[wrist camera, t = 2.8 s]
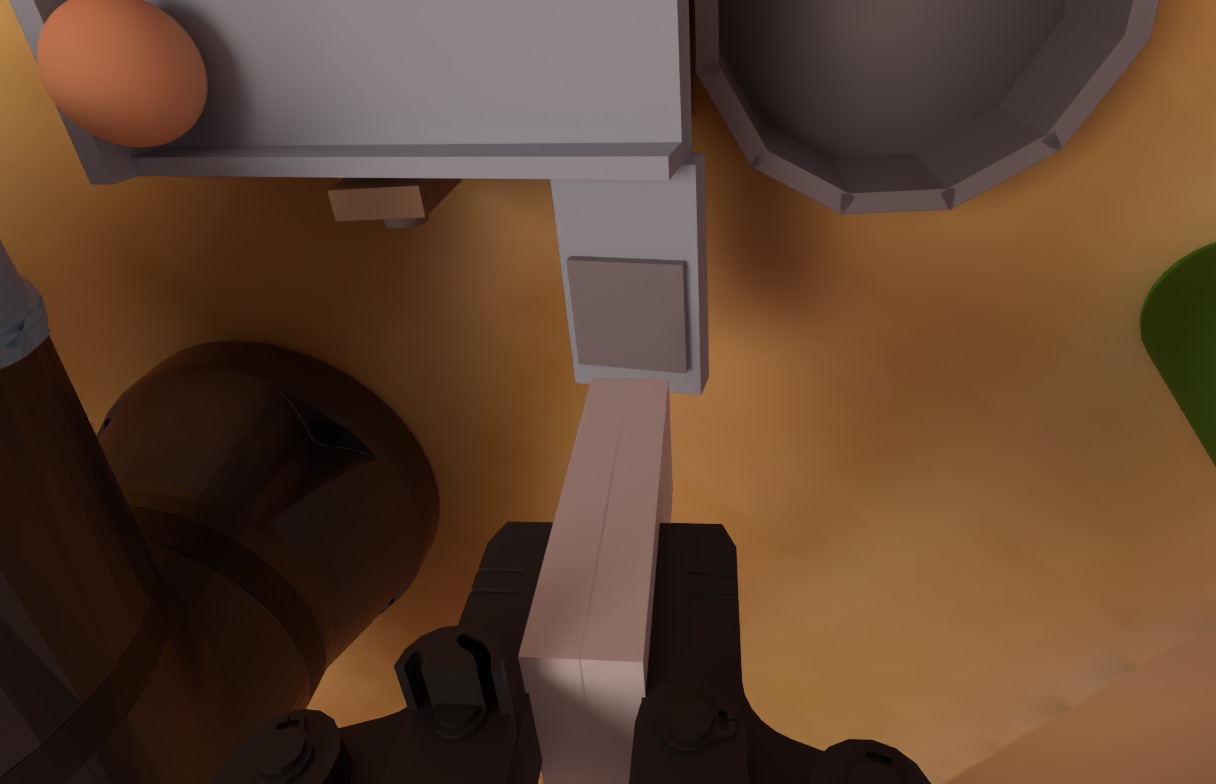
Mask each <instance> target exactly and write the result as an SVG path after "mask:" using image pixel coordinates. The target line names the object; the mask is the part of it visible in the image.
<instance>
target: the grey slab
mask: <svg viewBox="0 0 1216 784" xmlns="http://www.w3.org/2000/svg"><path fill="white" fill-rule="evenodd" d="M9 1H10V3H11V5H12V7H13V10H14V12H15V14H16V16H17V19H18V21H19V23H20V25H21V28H22V30H23V32H24V34H25V37H26V39H27V41H28V44H29V46H30V48H31V50H32V53H33V55H34V57H35V59H36V62H37V64H38V55H37V48H38V41H39V37H40V33H41V30H42V28H43V26H44V24H45V22H46V21H47V19H48V18H49V16H50V15H51V14H52V13H53V12H54V11H55V10H56V9H57V8H58V7H59V6H60V5H62V4H63V3H65V2H66V1H68V0H9ZM144 1H147V2H149V3H151V4H153V5H155V6H156V7H158V8H160V9H161V10H163V11H164V12H166V13H167V14H168V15H170V16H171V17H172V18H173V19H174V20H175V21H177V22H178V23H179V24H180V25H181V27H182V28H183V29H184V30H185V31H186V32H187V33H188V35H189V36H190V37H191V39H192V40H193V42H194V43H195V45H196V46H197V48H198V50H199V52H200V54H201V57H202V59H203V62H204V65H205V69H206V74H207V85H208V90H207V98H206V103H205V106H204V109H203V111H202V114H201V115H200V117H199V119H198V120H197V122H196V123H195V124H194V125H193V127H192V128H191V129H190V130H188V131H187V132H186V133H185V134H183V135H182V136H181V137H179V138H177V139H175V140H173V141H171V142H169V143H166V144H163V145H159V146H153V147H128V146H122V145H117V144H114V143H111V142H107V141H104V140H102V139H100V138H97V137H96V136H94V135H92V134H90V133H88V132H86V131H85V130H83V129H82V128H80V127H79V126H78V125H76V124H75V123H74V122H73V121H71V120H70V119H69V118H68V117H67V116H66V115H65V114H64V113H63V112H62V111H61V110H60V109H59V107H58V106H57V105H56V107H57V109H58V111H59V113H60V116H61V118H62V120H63V122H64V125H65V127H66V129H67V131H68V134H69V136H70V138H71V140H72V143H73V145H74V147H75V150H76V152H77V154H78V156H79V159H80V161H81V163H82V165H83V168H84V170H85V172H86V174H87V177H88V179H89V181H90V183H91V184H115V183H118V182H121V181H124V180H127V179H130V178H132V177H135V176H208V177H338V178H467V179H550V182H551V190H552V198H553V206H554V214H555V222H556V230H557V238H558V246H559V254H560V262H561V270H562V278H563V286H564V294H565V302H566V310H567V318H568V326H569V334H570V342H571V350H572V358H573V366H574V374H575V382H576V383H584V384H590V381H591V378H669V392H675V393H685V394H695V395H701V394H702V391H703V389H704V387H705V384H706V382H707V380H708V377H709V357H708V300H707V242H706V184H705V153H692V115H691V76H690V37H689V0H144Z"/></svg>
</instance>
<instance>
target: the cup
mask: <svg viewBox="0 0 1216 784" xmlns="http://www.w3.org/2000/svg"><path fill="white" fill-rule="evenodd" d="M1141 337H1142V341H1143V343H1144V346H1145V348H1146V350H1147V352H1148V354H1149V356H1150V358H1151V359H1152V361H1153V363H1154V364H1155V366H1156V368H1157V369H1158V371H1159V373H1160V374H1161V376H1162V378H1163V379H1164V381H1165V383H1166V384H1167V386H1168V388H1169V389H1170V391H1171V393H1172V394H1173V396H1174V398H1175V399H1176V401H1177V403H1178V404H1179V406H1180V408H1181V409H1182V411H1183V413H1184V414H1185V416H1186V418H1187V419H1188V421H1189V423H1190V425H1191V426H1192V428H1193V430H1194V431H1195V433H1196V435H1197V436H1198V438H1199V440H1200V441H1201V443H1202V445H1203V446H1204V448H1205V450H1206V451H1207V453H1208V455H1209V456H1210V458H1211V460H1212V461H1213V463H1214V465H1215V466H1216V243H1214V244H1211V245H1208V246H1206V247H1203V248H1200V249H1198V250H1196V251H1194V252H1193V253H1191V254H1189V255H1187V256H1186V257H1184V258H1182V259H1180V260H1179V261H1178V262H1177V263H1175V264H1174V265H1173V266H1172V267H1171V268H1169V269H1168V270H1167V271H1166V272H1165V273H1164V274H1163V275H1162V276H1161V277H1160V279H1159V280H1158V281H1157V282H1156V283H1155V285H1154V286H1153V287H1152V289H1151V291H1150V293H1149V294H1148V296H1147V298H1146V300H1145V302H1144V306H1143V310H1142V315H1141Z"/></svg>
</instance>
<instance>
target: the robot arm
mask: <svg viewBox="0 0 1216 784" xmlns="http://www.w3.org/2000/svg"><path fill="white" fill-rule="evenodd" d="M49 333H50V330H49V328H48V317H47V313H46V309H45V306H44V302H43V298H42V296H41V294H40V293H39V292H38V290H37V289H36V288H35V286H34V285H33V284H32V283H31V282H30V281H29V280H27V279H26V278H24V277H23V276H22V275H20V274H19V273H18V272H17V270H16V268H15V266H14V265H13V263H12V261H11V259H10V257H9V255H8V253H7V252H6V250H5V248H4V246H3V244H2V242H1V240H0V784H538V781H539V776H540V771H541V772H542V777H543V782H544V784H931V783H930V782H929V780H928V779H927V778H926V776H925V775H924V773H923V772H922V771H921V769H920V768H919V767H918V765H917V764H916V763H915V762H913V761H912V760H911V759H909V758H908V757H906V756H905V755H904V754H902V753H901V752H900V751H898V750H897V749H896V748H893V747H890V746H888V745H885V744H882V743H879V742H877V741H874V740H860V739H848V740H845V741H843V742H840V743H837V744H835V745H832V746H829V747H828V748H827V749H826V750H825V751H822V750H819V749H816V748H814V747H811V746H808V745H806V744H803V743H800V742H798V741H795V740H792V739H790V738H788V737H786V736H784V735H782V734H780V733H778V732H776V731H774V730H773V729H772V728H771V727H769V726H768V725H767V724H766V723H764V722H763V721H762V720H761V719H760V718H759V717H758V715H757V714H756V713H755V712H754V711H753V709H752V708H751V706H750V704H749V702H748V700H747V698H746V696H745V694H744V688H743V683H742V669H741V646H740V623H739V600H738V579H737V554H736V546H735V544H734V543H733V541H732V540H731V538H730V536H729V535H728V533H727V531H726V530H725V528H724V527H723V525H722V524H692V523H670V522H671V507H672V492H673V487H672V459H671V432H670V405H669V378H591V381H590V385H589V388H588V392H587V396H586V400H585V404H584V407H583V411H582V415H581V419H580V423H579V426H578V430H577V434H576V438H575V442H574V446H573V449H572V453H571V457H570V461H569V465H568V468H567V472H566V476H565V480H564V484H563V487H562V491H561V495H560V499H559V503H558V507H557V510H556V514H555V518H554V522H553V523H552V522H507V523H506V524H505V525H504V526H503V527H502V528H501V529H500V530H499V531H498V532H497V534H496V535H495V536H494V537H493V538H492V539H491V540H490V541H489V542H488V544H487V546H486V549H485V552H484V555H483V558H482V560H481V563H480V566H479V573H477V574H476V577H475V580H474V583H473V585H472V592H471V593H470V594H469V596H468V599H467V602H466V605H465V608H464V610H463V613H462V616H461V619H460V621H459V624H458V626H449V627H442V628H439V629H437V630H434V631H432V632H430V633H427V634H425V635H423V636H421V637H420V638H419V639H417V640H416V641H415V642H414V643H412V644H411V645H410V646H409V647H407V648H406V649H405V650H404V652H403V653H402V655H401V656H400V658H399V659H398V661H397V662H396V664H395V665H394V668H395V671H396V674H397V677H398V680H399V683H400V686H401V689H402V692H403V695H404V698H405V701H406V704H407V707H406V708H405V709H403V710H401V711H399V712H397V713H394V714H391V715H388V716H385V717H382V718H378V719H374V720H370V721H366V722H362V723H358V724H354V725H350V726H346V727H342V728H338V727H337V725H336V723H335V721H334V719H332V718H331V717H329V716H328V715H326V714H325V713H323V712H321V711H318V710H308V709H306V708H307V706H308V704H309V702H310V700H311V698H312V696H313V694H314V692H315V691H316V689H317V687H318V685H319V683H320V680H321V678H322V676H323V675H324V673H325V671H326V669H327V668H328V667H329V666H330V665H331V664H332V663H333V662H334V660H335V659H336V658H337V657H338V656H339V655H340V654H341V653H342V652H343V651H344V650H345V649H346V648H347V647H348V646H349V645H350V644H351V643H352V642H353V641H354V640H355V639H356V638H357V637H358V636H359V635H360V634H361V633H362V632H363V631H364V630H365V629H366V628H367V627H368V626H369V625H370V624H371V622H372V621H373V620H374V619H375V618H376V617H377V616H378V615H379V614H380V613H382V612H384V611H385V610H386V609H388V608H389V607H390V606H391V605H392V604H393V603H394V602H396V601H397V600H398V599H399V598H400V597H401V596H402V595H403V594H404V593H405V592H406V590H407V589H408V588H409V586H410V585H411V583H412V582H413V581H414V579H415V578H416V576H417V574H418V572H419V570H420V568H421V566H422V564H423V562H424V559H425V557H426V555H427V553H428V550H429V548H430V546H431V544H432V541H433V539H434V536H435V533H436V530H437V525H438V518H439V500H438V492H437V487H436V483H435V479H434V476H433V473H432V470H431V468H430V465H429V463H428V461H427V459H426V457H425V455H424V453H423V451H422V449H421V448H420V446H419V444H418V443H417V441H416V440H415V438H414V437H413V435H412V434H411V432H410V431H409V430H408V429H407V427H406V426H405V425H404V424H403V422H402V421H401V420H400V419H399V418H398V417H397V416H396V415H395V414H394V413H393V412H392V411H391V410H390V409H389V408H388V407H387V406H386V405H385V404H384V403H383V402H382V401H381V400H380V399H379V398H377V397H376V396H375V395H374V394H372V393H371V392H370V391H369V390H367V389H366V388H365V387H363V386H362V385H360V384H359V383H357V382H356V381H355V380H353V379H351V378H350V377H348V376H346V375H345V374H343V373H341V372H340V371H338V370H336V369H334V368H332V367H330V366H328V365H326V364H324V363H322V362H320V361H317V360H315V359H312V358H310V357H308V356H305V355H302V354H299V353H296V352H293V351H289V350H286V349H282V348H278V347H273V346H269V345H263V344H256V343H245V342H223V343H213V344H206V345H201V346H197V347H193V348H190V349H187V350H184V351H181V352H179V353H177V354H174V355H173V356H171V357H169V358H167V359H165V360H164V361H162V362H161V363H160V364H158V365H157V366H156V367H154V368H153V369H152V370H151V371H149V372H148V373H147V374H146V375H144V376H143V377H142V378H141V379H139V380H138V381H137V382H136V383H134V384H133V385H132V386H131V387H130V388H128V389H127V390H126V391H125V392H124V393H123V394H122V395H121V396H120V397H119V398H118V399H117V401H116V402H115V403H114V404H113V406H112V407H111V408H110V410H109V411H108V413H107V415H106V417H105V418H104V421H103V423H102V426H101V428H100V430H99V432H98V434H97V437H96V435H95V432H94V430H93V428H92V426H91V424H90V422H89V420H88V417H87V415H86V413H85V411H84V409H83V407H82V405H81V402H80V400H79V398H78V396H77V394H76V392H75V390H74V387H73V385H72V383H71V381H70V379H69V377H68V375H67V372H66V370H65V368H64V366H63V364H62V362H61V359H60V357H59V355H58V353H57V351H56V349H55V347H54V344H53V342H52V340H51V338H50V336H49Z"/></svg>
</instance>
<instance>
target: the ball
mask: <svg viewBox="0 0 1216 784" xmlns="http://www.w3.org/2000/svg"><path fill="white" fill-rule="evenodd" d="M37 55H38V66H39V71H40V74H41V78H42V80H43V83H44V85H45V87H46V89H47V91H48V93H49V95H50V96H51V98H52V99H53V101H54V102H55V104H56V105H57V106H58V107H59V109H60V110H61V111H62V112H63V113H64V114H65V115H66V116H67V117H68V118H69V119H70V120H71V121H73V122H74V123H75V124H76V125H78V126H79V127H80V128H82V129H83V130H85V131H86V132H88V133H90V134H92V135H94V136H96V137H97V138H100V139H102V140H104V141H107V142H111V143H114V144H117V145H122V146H128V147H153V146H159V145H163V144H166V143H169V142H171V141H173V140H175V139H177V138H179V137H181V136H182V135H183V134H185V133H186V132H187V131H188V130H190V129H191V128H192V127H193V125H194V124H195V123H196V122H197V120H198V119H199V117H200V115H201V114H202V111H203V109H204V106H205V103H206V98H207V90H208V85H207V74H206V69H205V65H204V62H203V59H202V57H201V54H200V52H199V50H198V48H197V46H196V45H195V43H194V42H193V40H192V39H191V37H190V36H189V35H188V33H187V32H186V31H185V30H184V29H183V28H182V27H181V25H180V24H179V23H178V22H177V21H175V20H174V19H173V18H172V17H171V16H170V15H168V14H167V13H166V12H164V11H163V10H161V9H160V8H158V7H156V6H155V5H153V4H151V3H149V2H147V1H144V0H68V1H66V2H65V3H63V4H62V5H60V6H59V7H58V8H57V9H56V10H55V11H54V12H53V13H52V14H51V15H50V16H49V18H48V19H47V21H46V22H45V24H44V26H43V28H42V30H41V33H40V37H39V41H38V48H37Z"/></svg>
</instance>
